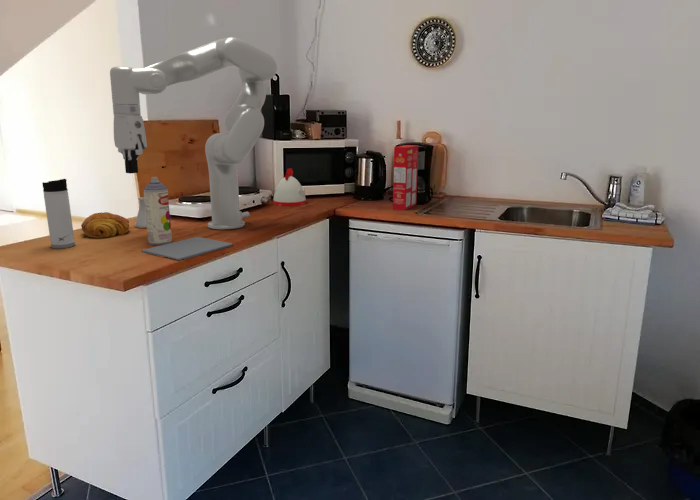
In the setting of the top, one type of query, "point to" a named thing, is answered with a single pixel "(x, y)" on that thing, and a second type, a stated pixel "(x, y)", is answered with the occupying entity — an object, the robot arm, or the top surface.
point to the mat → (187, 248)
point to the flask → (141, 214)
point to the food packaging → (405, 177)
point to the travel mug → (58, 214)
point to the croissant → (105, 225)
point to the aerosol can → (157, 213)
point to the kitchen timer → (289, 191)
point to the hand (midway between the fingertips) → (131, 172)
